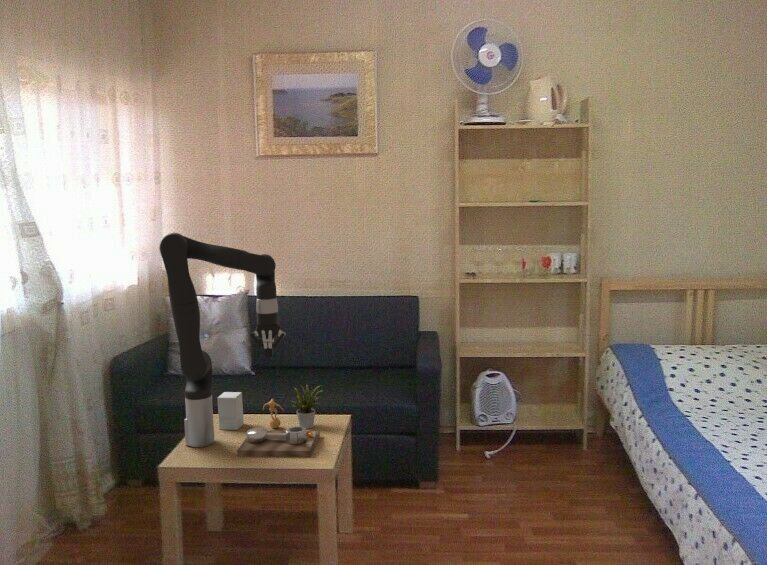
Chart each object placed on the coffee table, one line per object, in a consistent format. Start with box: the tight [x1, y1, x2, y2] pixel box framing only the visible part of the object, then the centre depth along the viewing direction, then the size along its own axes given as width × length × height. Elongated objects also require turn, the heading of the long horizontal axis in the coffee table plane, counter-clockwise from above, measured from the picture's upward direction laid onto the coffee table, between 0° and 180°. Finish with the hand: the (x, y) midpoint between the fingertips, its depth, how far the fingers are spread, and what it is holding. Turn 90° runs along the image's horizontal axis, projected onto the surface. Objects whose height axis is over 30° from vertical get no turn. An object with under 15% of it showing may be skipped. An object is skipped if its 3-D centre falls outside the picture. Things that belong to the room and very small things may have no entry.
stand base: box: [236, 430, 321, 458], centre depth 249 cm, size 25×19×3 cm
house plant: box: [290, 384, 323, 430], centre depth 267 cm, size 14×14×16 cm
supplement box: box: [216, 391, 245, 431], centre depth 269 cm, size 7×7×13 cm
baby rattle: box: [246, 425, 313, 444], centre depth 248 cm, size 24×7×4 cm, turn 83°
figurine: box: [262, 398, 285, 429], centre depth 265 cm, size 8×6×12 cm
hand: (269, 358), depth 255 cm, fingers closed
